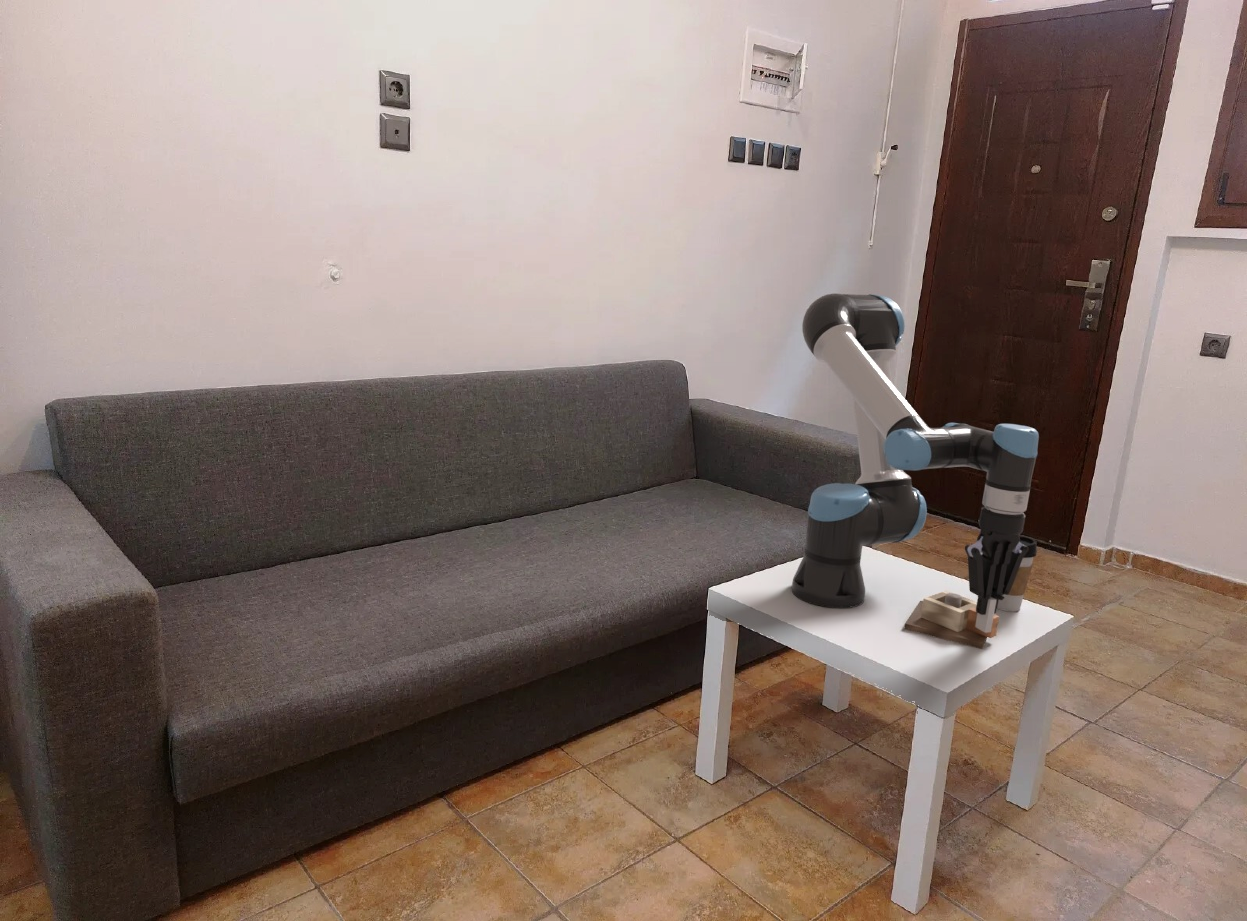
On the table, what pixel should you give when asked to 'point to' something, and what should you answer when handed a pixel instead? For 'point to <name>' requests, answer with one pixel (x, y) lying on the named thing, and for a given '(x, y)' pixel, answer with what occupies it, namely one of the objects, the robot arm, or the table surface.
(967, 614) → the hollow square frame
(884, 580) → the table surface
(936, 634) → the base
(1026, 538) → the coffee cup
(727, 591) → the table surface
